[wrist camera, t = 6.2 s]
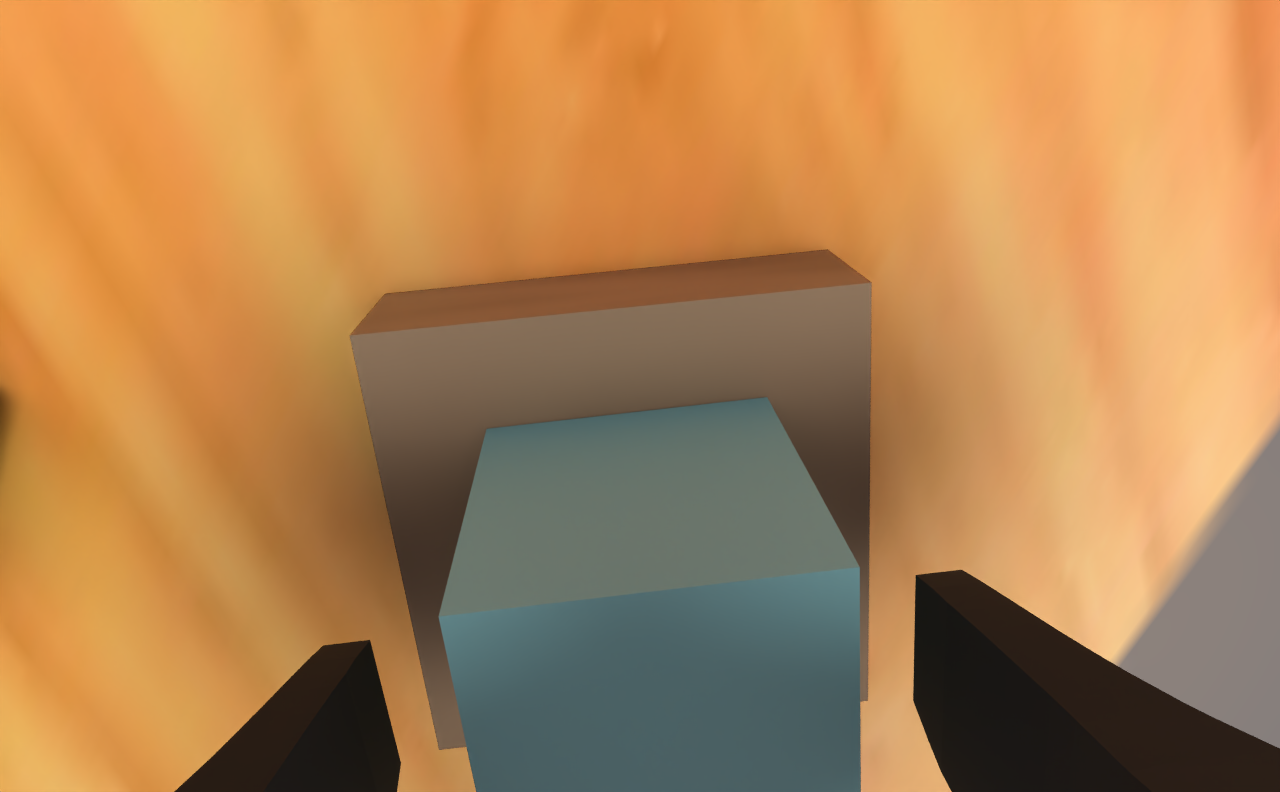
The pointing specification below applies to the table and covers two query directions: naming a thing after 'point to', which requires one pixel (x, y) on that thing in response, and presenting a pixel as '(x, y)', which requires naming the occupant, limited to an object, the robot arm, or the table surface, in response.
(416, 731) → the table surface
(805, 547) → the teal block
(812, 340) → the walnut block
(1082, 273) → the table surface
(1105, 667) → the robot arm
